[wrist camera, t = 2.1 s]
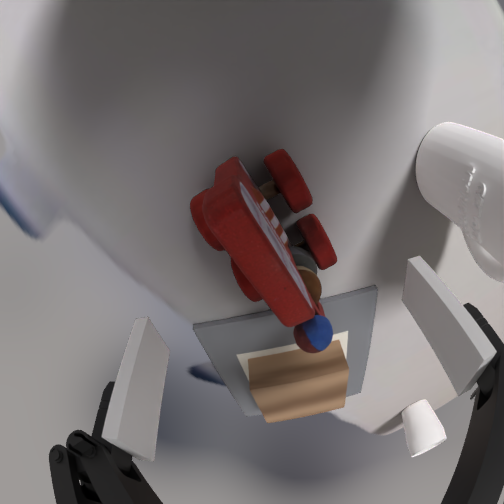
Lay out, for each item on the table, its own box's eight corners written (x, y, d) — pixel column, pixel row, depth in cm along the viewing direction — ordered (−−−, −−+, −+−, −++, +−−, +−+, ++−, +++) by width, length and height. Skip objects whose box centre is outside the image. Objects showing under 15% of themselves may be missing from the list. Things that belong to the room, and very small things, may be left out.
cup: (425, 406, 48) (440, 444, 37) (393, 419, 48) (406, 460, 38) (434, 391, 43) (452, 433, 33) (399, 406, 44) (415, 452, 34)
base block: (247, 358, 28) (249, 389, 24) (339, 339, 27) (349, 368, 24) (264, 397, 33) (267, 423, 30) (337, 382, 32) (344, 407, 29)
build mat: (193, 324, 25) (192, 329, 25) (375, 285, 24) (377, 289, 24) (246, 413, 37) (246, 416, 36) (359, 389, 36) (360, 393, 35)
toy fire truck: (263, 293, 24) (277, 399, 15) (181, 173, 18) (131, 253, 9) (335, 260, 23) (383, 357, 14) (270, 123, 16) (312, 153, 8)
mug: (423, 253, 23) (493, 342, 13) (402, 136, 17) (527, 196, 7) (477, 222, 21) (550, 290, 11) (467, 113, 15) (576, 156, 5)
